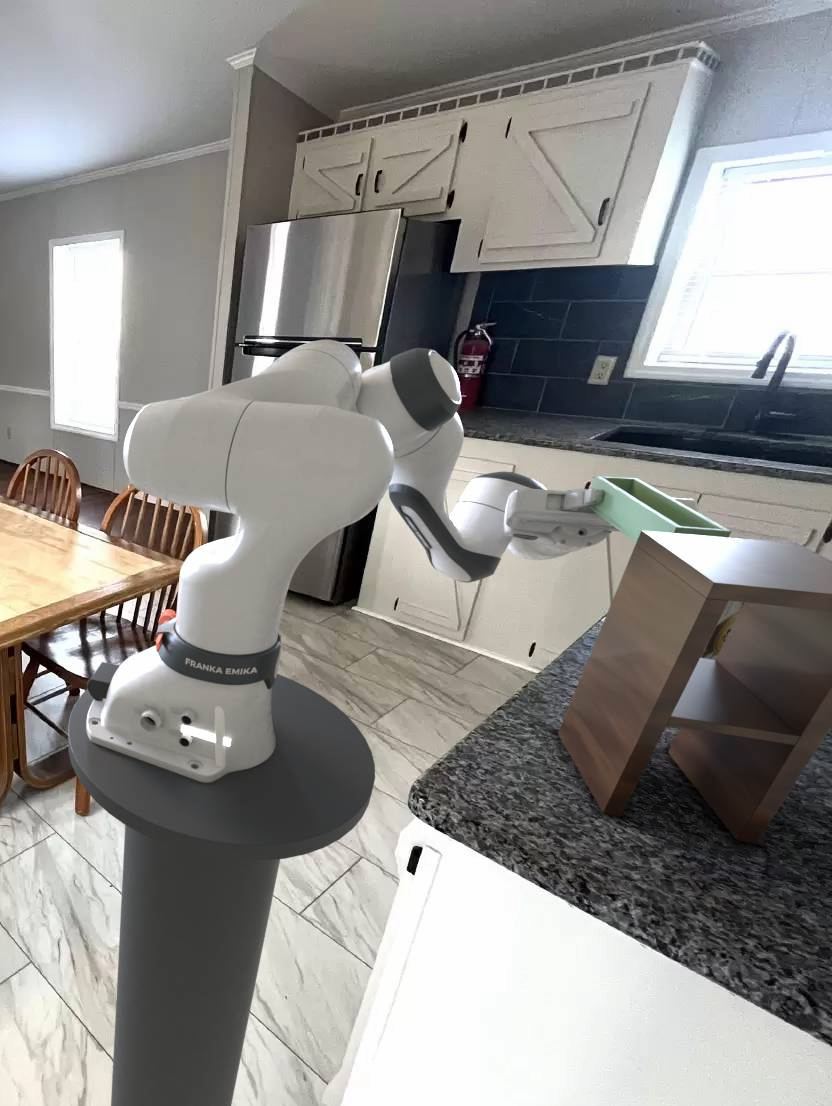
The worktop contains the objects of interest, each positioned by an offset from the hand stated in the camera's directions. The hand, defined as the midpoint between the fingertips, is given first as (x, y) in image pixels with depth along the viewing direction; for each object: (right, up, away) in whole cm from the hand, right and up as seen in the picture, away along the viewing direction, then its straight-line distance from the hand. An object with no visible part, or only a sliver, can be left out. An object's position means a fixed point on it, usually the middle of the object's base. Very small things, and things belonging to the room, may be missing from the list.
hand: (625, 496), depth 81 cm
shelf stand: (-9, -33, -12) cm, 37 cm away
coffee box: (+22, -21, +12) cm, 33 cm away
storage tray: (-2, -5, -5) cm, 7 cm away
